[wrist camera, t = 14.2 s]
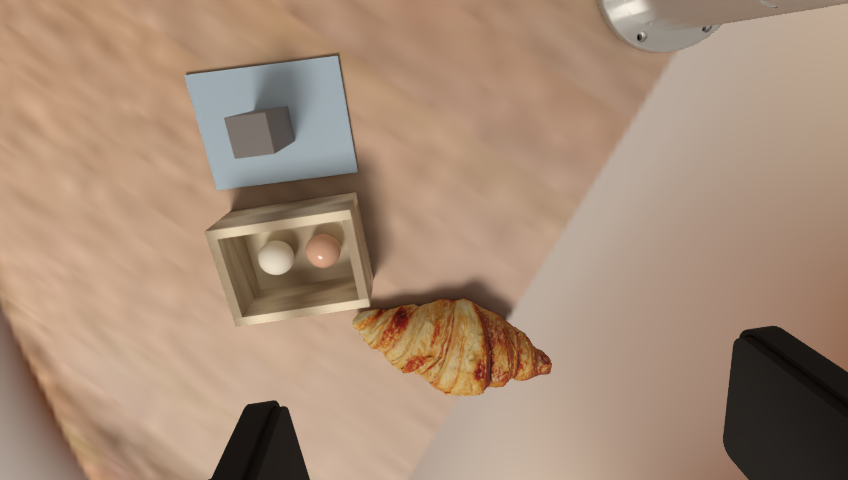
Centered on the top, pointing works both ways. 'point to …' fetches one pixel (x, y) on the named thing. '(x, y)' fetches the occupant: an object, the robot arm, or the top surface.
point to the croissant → (453, 345)
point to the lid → (274, 122)
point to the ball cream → (276, 257)
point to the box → (303, 283)
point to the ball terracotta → (323, 250)
